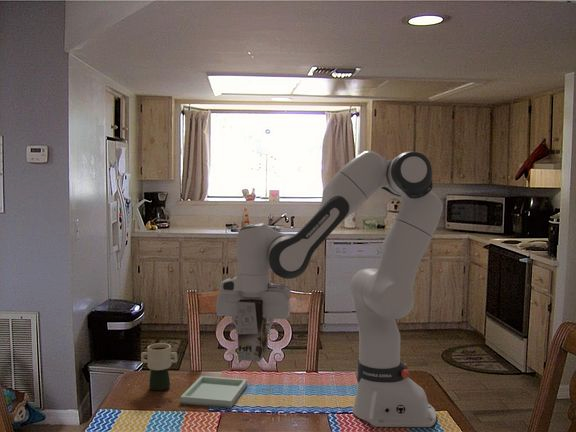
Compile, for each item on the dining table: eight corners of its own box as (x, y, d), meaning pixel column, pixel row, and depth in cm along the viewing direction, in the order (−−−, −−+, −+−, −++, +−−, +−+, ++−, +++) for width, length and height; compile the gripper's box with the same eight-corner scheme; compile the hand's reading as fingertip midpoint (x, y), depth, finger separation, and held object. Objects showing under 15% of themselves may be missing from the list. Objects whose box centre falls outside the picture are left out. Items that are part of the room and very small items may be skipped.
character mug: (179, 383, 181) (179, 342, 180) (175, 392, 174) (175, 350, 173) (144, 383, 181) (143, 342, 180) (138, 392, 174) (138, 350, 173)
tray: (247, 385, 180) (247, 379, 180) (231, 407, 163) (231, 401, 163) (201, 382, 183) (201, 375, 183) (180, 403, 166) (180, 396, 166)
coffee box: (260, 362, 155) (260, 302, 154) (237, 360, 156) (236, 301, 155) (268, 351, 164) (268, 295, 163) (246, 350, 165) (246, 294, 164)
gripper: (292, 282, 160) (292, 331, 161) (221, 279, 164) (221, 327, 165) (288, 286, 153) (288, 338, 155) (213, 283, 157) (214, 334, 159)
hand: (253, 332), depth 160 cm, fingers closed on coffee box, 6 cm apart
